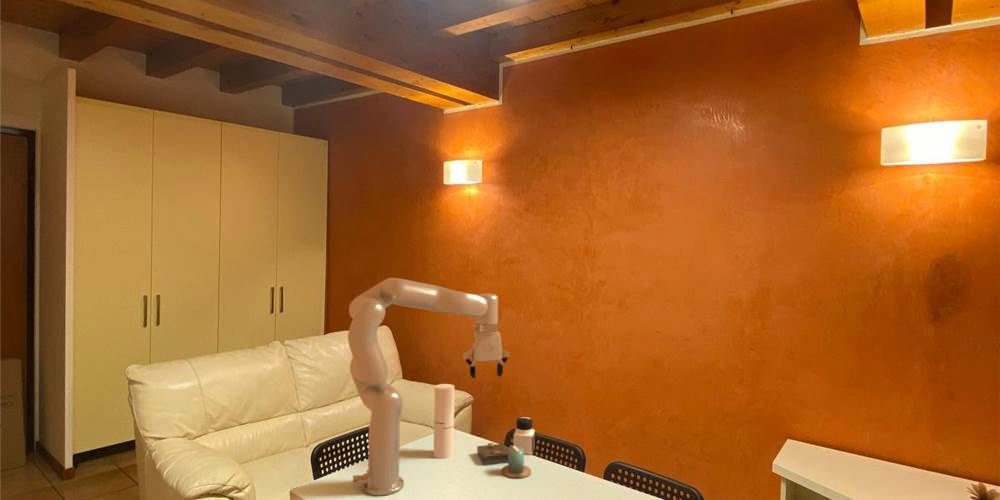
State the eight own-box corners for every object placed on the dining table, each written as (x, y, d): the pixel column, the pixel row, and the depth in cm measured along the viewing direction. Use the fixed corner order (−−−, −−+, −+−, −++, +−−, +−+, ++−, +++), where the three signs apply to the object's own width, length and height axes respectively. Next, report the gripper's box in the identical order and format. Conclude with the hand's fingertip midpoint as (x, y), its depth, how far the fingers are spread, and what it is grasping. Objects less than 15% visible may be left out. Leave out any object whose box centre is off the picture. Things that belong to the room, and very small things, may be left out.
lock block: (484, 465, 175) (484, 454, 175) (477, 454, 185) (477, 444, 185) (511, 462, 178) (511, 451, 178) (503, 451, 188) (503, 441, 188)
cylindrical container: (436, 450, 188) (437, 383, 188) (455, 451, 187) (456, 384, 187) (431, 457, 181) (432, 388, 181) (450, 459, 180) (451, 389, 180)
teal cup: (511, 474, 167) (511, 452, 167) (506, 468, 172) (506, 446, 172) (525, 472, 169) (526, 450, 169) (520, 466, 174) (520, 444, 174)
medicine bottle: (532, 455, 185) (532, 422, 185) (513, 453, 186) (513, 421, 187) (534, 448, 192) (535, 416, 192) (516, 446, 193) (516, 415, 194)
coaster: (506, 480, 164) (506, 478, 164) (497, 467, 174) (497, 466, 174) (535, 476, 167) (535, 474, 167) (525, 464, 177) (525, 462, 177)
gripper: (465, 330, 173) (465, 380, 173) (513, 329, 178) (512, 377, 178) (461, 327, 180) (460, 375, 180) (506, 326, 185) (506, 372, 185)
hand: (486, 376), depth 179 cm, fingers open, 9 cm apart
